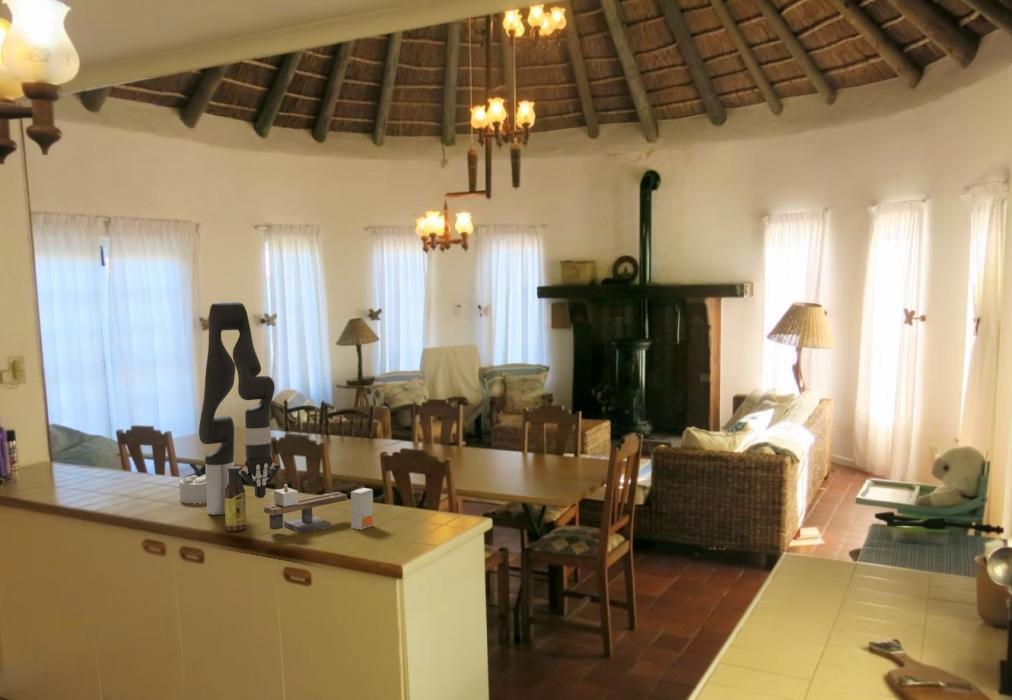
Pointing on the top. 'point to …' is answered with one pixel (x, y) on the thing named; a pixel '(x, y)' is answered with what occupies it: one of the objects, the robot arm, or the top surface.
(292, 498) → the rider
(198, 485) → the lumpy-topped squat cylinder
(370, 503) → the skincare box
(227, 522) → the sauce bottle
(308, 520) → the balance beam
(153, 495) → the top surface
